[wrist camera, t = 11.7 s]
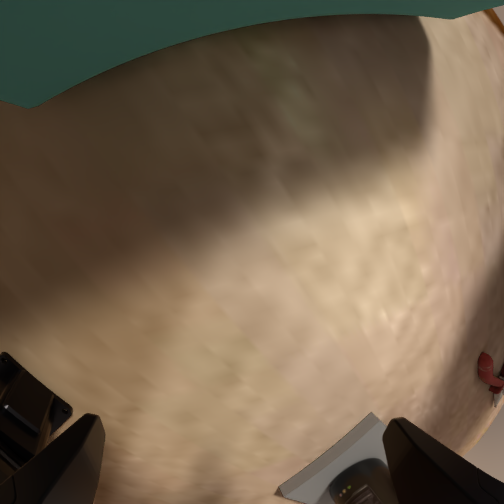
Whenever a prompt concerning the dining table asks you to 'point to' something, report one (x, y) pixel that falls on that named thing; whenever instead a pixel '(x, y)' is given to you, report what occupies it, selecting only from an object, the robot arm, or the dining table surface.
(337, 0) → the teal foam block
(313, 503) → the grey flat square slab
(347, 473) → the supplement bottle
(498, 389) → the pliers
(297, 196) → the dining table surface
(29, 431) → the robot arm
